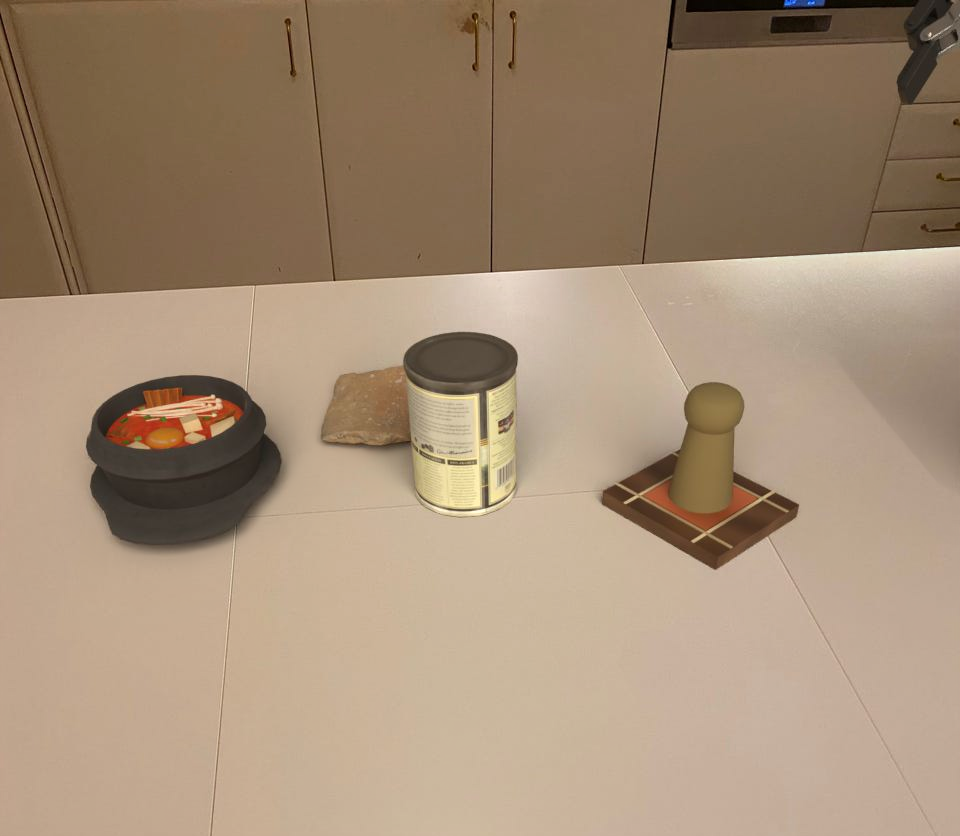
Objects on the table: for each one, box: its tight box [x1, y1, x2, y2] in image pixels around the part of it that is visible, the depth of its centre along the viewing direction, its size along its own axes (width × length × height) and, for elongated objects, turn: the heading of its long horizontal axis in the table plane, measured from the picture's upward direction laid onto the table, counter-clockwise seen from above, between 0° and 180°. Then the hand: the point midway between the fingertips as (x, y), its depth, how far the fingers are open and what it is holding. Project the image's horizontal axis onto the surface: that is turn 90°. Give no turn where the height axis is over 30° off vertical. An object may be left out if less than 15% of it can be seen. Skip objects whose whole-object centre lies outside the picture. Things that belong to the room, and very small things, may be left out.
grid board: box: [601, 448, 800, 571], centre depth 94 cm, size 12×14×2 cm
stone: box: [320, 364, 411, 446], centre depth 107 cm, size 11×16×3 cm
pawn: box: [668, 381, 745, 513], centre depth 90 cm, size 6×6×11 cm
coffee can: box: [402, 331, 519, 518], centre depth 93 cm, size 10×10×14 cm
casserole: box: [85, 374, 283, 546], centre depth 96 cm, size 25×19×8 cm
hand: (953, 107), depth 75 cm, fingers open, 8 cm apart
